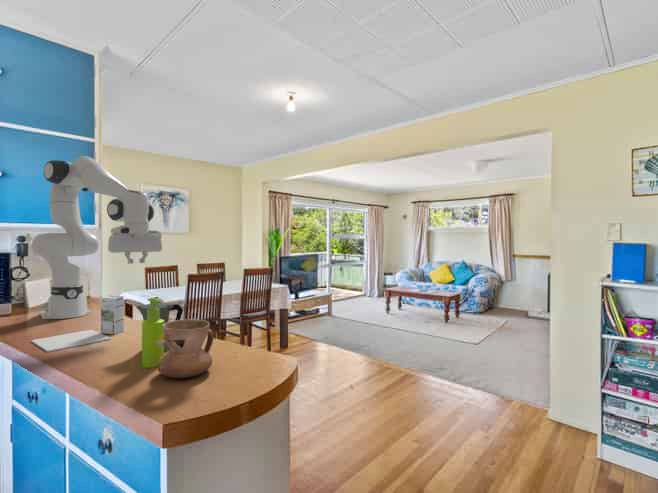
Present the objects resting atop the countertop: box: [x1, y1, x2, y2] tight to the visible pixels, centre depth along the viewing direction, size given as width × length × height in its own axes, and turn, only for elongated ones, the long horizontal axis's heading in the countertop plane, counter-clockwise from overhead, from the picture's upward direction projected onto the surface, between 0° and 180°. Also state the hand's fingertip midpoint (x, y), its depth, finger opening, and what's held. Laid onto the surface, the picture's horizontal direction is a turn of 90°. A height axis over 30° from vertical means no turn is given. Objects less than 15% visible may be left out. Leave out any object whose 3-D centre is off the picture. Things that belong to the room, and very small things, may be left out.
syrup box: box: [100, 294, 125, 336], centre depth 138 cm, size 6×6×14 cm
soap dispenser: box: [141, 297, 165, 369], centre depth 105 cm, size 6×7×20 cm
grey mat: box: [30, 329, 112, 353], centre depth 127 cm, size 18×19×1 cm
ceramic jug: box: [156, 318, 215, 379], centre depth 99 cm, size 18×14×14 cm
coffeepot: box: [135, 296, 184, 353], centre depth 118 cm, size 15×9×18 cm, turn 92°
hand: (136, 263), depth 144 cm, fingers open, 3 cm apart
